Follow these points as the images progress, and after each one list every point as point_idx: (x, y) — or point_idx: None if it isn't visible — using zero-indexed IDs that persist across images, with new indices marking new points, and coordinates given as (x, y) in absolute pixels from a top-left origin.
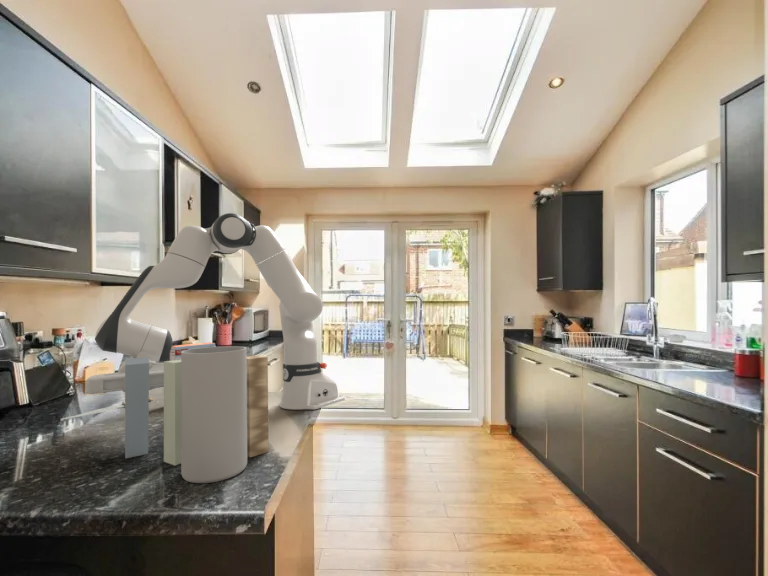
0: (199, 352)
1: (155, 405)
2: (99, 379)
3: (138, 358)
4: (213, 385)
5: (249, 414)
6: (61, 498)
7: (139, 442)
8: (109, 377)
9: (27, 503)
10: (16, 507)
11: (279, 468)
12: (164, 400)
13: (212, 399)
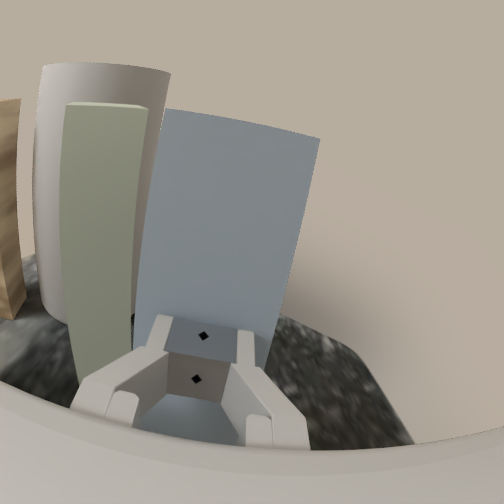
0: (101, 74)
1: None
2: (483, 433)
3: (234, 121)
4: None
5: (17, 220)
6: (307, 360)
7: None
8: (442, 444)
9: (350, 371)
10: (358, 367)
11: None
12: (131, 253)
13: None
